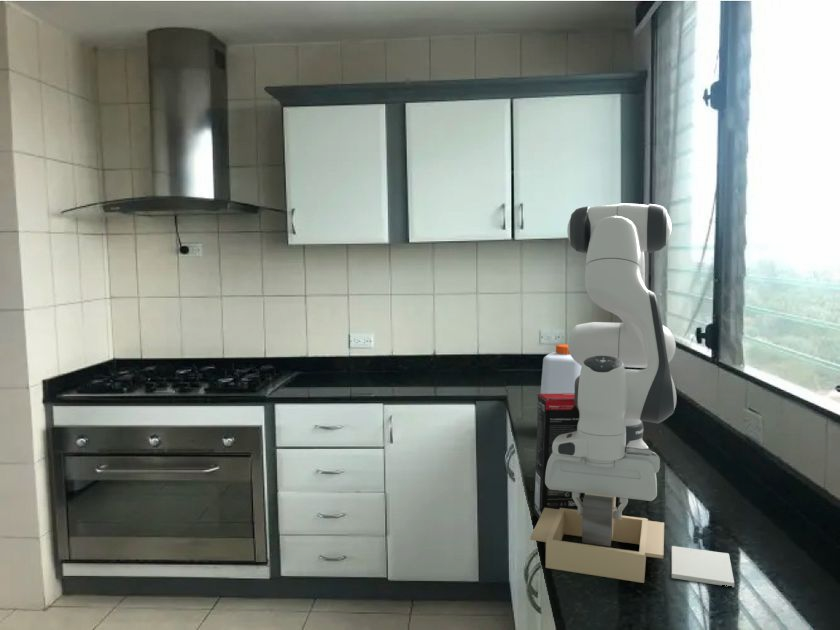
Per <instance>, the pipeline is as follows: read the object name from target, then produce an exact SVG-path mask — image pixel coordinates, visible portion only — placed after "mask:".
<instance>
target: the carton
mask: <svg viewBox="0 0 840 630" xmlns="http://www.w3.org/2000/svg"><path fill="white" fill-rule="evenodd" d="M582 520H583V515H578V510H574V509H566V508H560V509H551V508H544V510H543V512H542V514H541V516H540V518H539V519H538V520H537V523H536V525H535V526H534V529H533V530H532V533H531V535H530V541H536V542H543V543H545V568H546V569H551V570H552V569H553V570H557V571H563V572H564V571H565V572H570V573H571V572H572V573H577V574H584V575H591V576H595V577H596V576H597V577H602V578H603V577H605V578H609V579H617V580H622V581H630V582H635V583H643V584H644V583H645V578H646V577H645V576H646V575H645V574H646V564H647V562H646V561H647V557H649V558H657V559H664V551H665V549H664V547H665V545H664V544H665V542H664V541H665V522H661V521H653V520H649V519H648V518H645V517H637V516H631V515H630V516H629V515H628V516H627V515H622V517H621V520H616V519H615V526H614V531H613V536H612V541H613V542H620V543H628V544H634V545H639V549H638V551H636V550H630V549H621V548H613V547H609V546H602V545H595V544H587V543H580V542H579V543H577V542H571V541H564V540H563V538H564V535H567V536H576V537H582ZM612 541H611V542H612Z"/></svg>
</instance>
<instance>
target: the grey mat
mask: <svg viewBox="0 0 840 630" xmlns="http://www.w3.org/2000/svg"><path fill="white" fill-rule="evenodd" d="M730 558H731V557H730V554H729V553H728V552H720V551H719V552H718V551H713V550H705V549H700V548H699V549H697V548H692V547H683V546H675V545H671V579H676V580H683V581H691V582H694V583H695V582H696V583H703V584H711V585H715V586H716V585H717V586H722V585H725V586H724V587H728V586H732V587H731V588H735V580H734V579H735V578H734V574H733V568H732V563H731V562H732V561H731V559H730ZM726 585H727V586H726Z"/></svg>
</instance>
